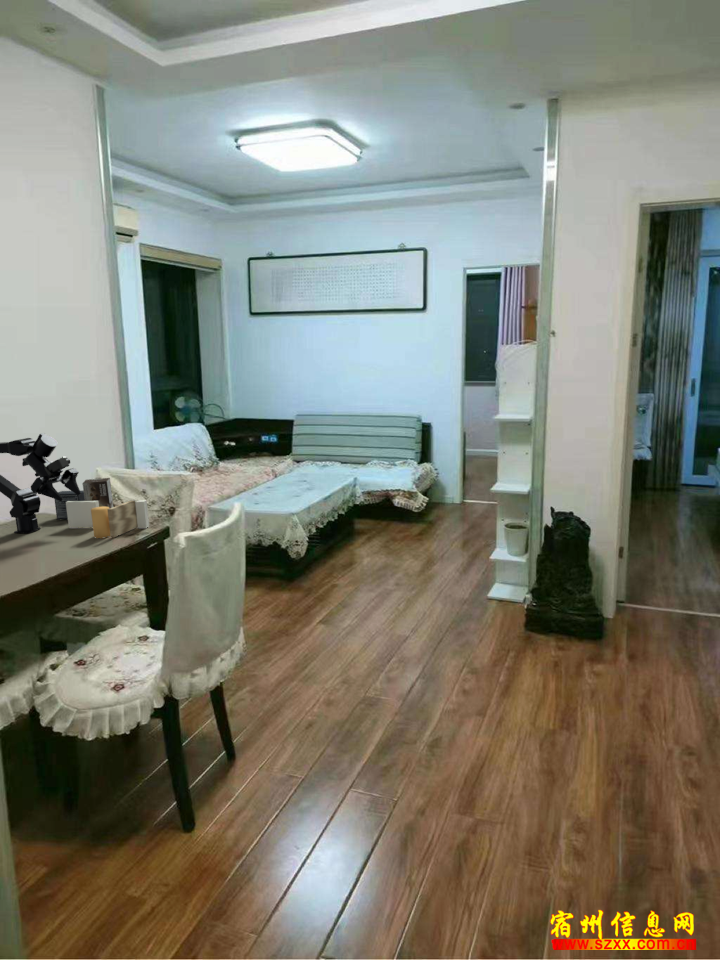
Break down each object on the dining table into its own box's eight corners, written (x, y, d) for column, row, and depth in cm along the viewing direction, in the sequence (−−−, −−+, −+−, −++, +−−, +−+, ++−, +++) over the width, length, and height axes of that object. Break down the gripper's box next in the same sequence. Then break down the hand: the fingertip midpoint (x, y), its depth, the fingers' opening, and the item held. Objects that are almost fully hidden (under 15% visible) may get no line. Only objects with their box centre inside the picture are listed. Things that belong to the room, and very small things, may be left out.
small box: (90, 515, 267) (87, 489, 265) (81, 519, 260) (78, 493, 258) (64, 515, 268) (61, 490, 266) (56, 519, 261) (52, 493, 259)
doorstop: (92, 539, 232) (89, 511, 230) (95, 534, 238) (92, 507, 236) (111, 537, 233) (107, 509, 231) (113, 533, 239) (110, 505, 237)
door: (135, 526, 246) (132, 499, 244) (139, 526, 246) (136, 499, 244) (110, 537, 233) (107, 509, 231) (114, 537, 232) (111, 509, 230)
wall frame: (149, 526, 246) (146, 500, 244) (146, 528, 244) (143, 501, 242) (71, 526, 250) (68, 500, 248) (68, 528, 247) (64, 502, 245)
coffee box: (115, 517, 261) (110, 477, 258) (112, 522, 255) (107, 480, 251) (90, 519, 259) (85, 479, 256) (87, 524, 253) (82, 482, 250)
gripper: (32, 454, 226) (63, 487, 225) (71, 446, 244) (100, 476, 243) (17, 477, 230) (47, 509, 229) (56, 467, 248) (84, 497, 247)
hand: (71, 497), depth 237 cm, fingers open, 9 cm apart
